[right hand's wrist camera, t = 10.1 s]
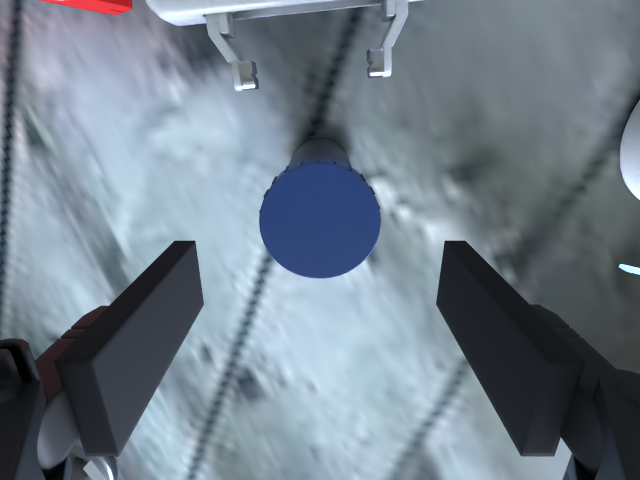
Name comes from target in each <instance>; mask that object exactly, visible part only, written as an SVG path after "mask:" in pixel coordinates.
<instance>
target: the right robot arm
mask: <svg viewBox="0 0 640 480" xmlns="http://www.w3.org/2000/svg"><path fill="white" fill-rule="evenodd" d="M203 305H204V302H203V294H202V287H201V280H200V272H199V265H198V258H197V250H196V243H195V241H174V242H173V243H172V244H171V245H170V246H169V247H168V248H167V249H166V250H165V251H164V252H163V253H162V254H161V255H160V256H159V257H158V258H157V259H156V260H155V261H154V262H153V263H152V264H151V265H150V266H149V267H148V268H147V269H146V270H145V271H144V272H143V273H142V274H141V275H140V276H139V277H138V278H137V279H136V280H135V281H134V282H133V283H132V284H131V285H130V286H129V287H128V288H127V289H126V290H125V291H124V292H123V293H122V294H121V295H120V296H119V297H118V298H117V299H116V300H115V301H114V302H113V303H112V304H111V305H109V306H100V307H98V308H96V309H95V310H93V311H91V312H89V313H87V314H86V315H84V316H83V317H82V318H81V319H79V320H78V321H77V322H76V323H75V324H74V325H73V326H72V327H71V329H69V330H68V331H66V332H65V333H64V334H63V335H62V336H61V339H58V340H57V341H56V342H55V343H54V344H52V345H51V346H50V347H49V348H48V349H47V350H46V351H45V352H44V353H43V354H42V355H41V356H39V357H38V358H37V359H36V360H34V357H33V354H32V352H31V349H30V346H29V343H28V342H26V341H24V340H22V339H4V340H0V480H117V474H118V473H117V467H116V464H115V461H114V459H113V457H112V456H119V455H120V453H121V451H122V450H123V448H124V446H125V444H126V443H127V441H128V439H129V437H130V435H131V434H132V432H133V430H134V428H135V426H136V425H137V423H138V421H139V419H140V418H141V416H142V414H143V412H144V410H145V409H146V407H147V405H148V403H149V401H150V400H151V398H152V396H153V394H154V392H155V391H156V389H157V387H158V385H159V384H160V382H161V380H162V378H163V376H164V375H165V373H166V371H167V369H168V367H169V366H170V364H171V362H172V360H173V359H174V357H175V355H176V353H177V351H178V350H179V348H180V346H181V344H182V342H183V341H184V339H185V337H186V335H187V334H188V332H189V330H190V328H191V326H192V325H193V323H194V321H195V319H196V317H197V316H198V314H199V312H200V310H201V309H202V307H203ZM436 305H437V307H438V309H439V310H440V312H441V314H442V316H443V317H444V319H445V321H446V323H447V325H448V326H449V328H450V330H451V332H452V334H453V335H454V337H455V339H456V341H457V342H458V344H459V346H460V348H461V350H462V351H463V353H464V355H465V357H466V359H467V360H468V362H469V364H470V366H471V367H472V369H473V371H474V373H475V375H476V376H477V378H478V380H479V382H480V384H481V385H482V387H483V389H484V391H485V392H486V394H487V396H488V398H489V400H490V401H491V403H492V405H493V407H494V409H495V410H496V412H497V414H498V416H499V418H500V419H501V421H502V423H503V425H504V426H505V428H506V430H507V432H508V434H509V435H510V437H511V439H512V441H513V443H514V444H515V446H516V448H517V450H518V451H519V453H520V455H521V456H554V455H555V452H556V449H557V446H558V443H559V440H560V437H561V438H562V439H563V441H564V442H565V443H566V445H567V446H568V448H569V449H570V450H571V452H572V455H571V457H570V460H569V463H568V466H567V468H566V471H565V474H564V477H563V480H640V374H637V373H634V372H631V371H625V370H619V369H616V368H615V367H613V366H612V365H611V364H610V363H609V362H608V361H607V360H606V359H605V358H604V357H603V356H601V355H600V354H599V353H598V352H597V351H596V350H595V349H594V348H593V347H592V346H591V345H589V344H588V343H587V342H586V341H585V340H584V339H583V338H580V337H579V334H578V333H576V332H575V331H574V330H573V329H572V328H569V325H568V324H567V323H566V322H564V321H563V320H562V319H561V318H560V317H559V316H558V315H557V314H555V313H553V312H552V311H550V310H548V309H546V308H544V307H543V306H541V305H529V304H528V303H527V302H526V301H525V300H524V299H523V298H522V297H521V296H520V295H519V294H518V293H517V292H516V291H515V290H514V289H513V288H512V287H511V286H510V285H509V284H508V283H507V282H506V281H505V280H504V279H503V278H502V277H501V276H500V275H499V274H498V273H497V272H496V271H495V270H494V269H493V268H492V267H491V266H490V265H489V264H488V263H487V262H486V261H485V260H484V259H483V258H482V257H481V256H480V255H479V254H478V253H477V252H476V251H475V250H474V249H473V248H472V247H471V246H470V245H469V244H468V243H467V242H466V241H445V243H444V250H443V258H442V265H441V272H440V280H439V287H438V294H437V302H436Z"/></svg>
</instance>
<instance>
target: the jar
mask: <svg viewBox="0 0 640 480" xmlns="http://www.w3.org/2000/svg"><path fill="white" fill-rule="evenodd" d="M317 156H319V158H329V159H333V158H335V159H336V160H337V161H340V162H343V163H345V164H347V165H348V164H350V162H349V159H348V157H347V155H346V153H345V151H344V150H343V149H342V148H341V147H340V146H339V145H338V144H337V143H335V142H334V141H332V140H329V139H325V138H315V139H311V140H308V141H306V142H305V143H303V144H302V145H301V146H299V148H298V149H297V150H296V151H295V153H294V155H293V157H292V159H291V161H290V164H289V167H290V166H291V165H293V164H295V163H297V162H300V161H301V159H303V160H306V159H312V158H317ZM350 165H351V164H350ZM351 167H352V166H351Z"/></svg>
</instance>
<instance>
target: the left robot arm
mask: <svg viewBox="0 0 640 480" xmlns="http://www.w3.org/2000/svg"><path fill="white" fill-rule="evenodd" d="M145 1H146V3H147V4H148V6H149V7H150V8H151V9H152V10H153V11H154V12H155V13H156V14H157V15H158V16H159V17H160V18H162V19H163V20H165V21H167V22H169V23H172V24H174V25H177V26H183V25H193V24H202V23H206V24H207V29H208V35H209V37H210V38H211V39H212V41H213V42H214V43H215V45H216V46H217V48H218V49H219V50H220V52H221V53H222V55H223V56H224V57H225V59H226V60H227V61H228V63H230V65H231V71H232V77H233V83H234V87H235V90H236V91H244V90H253V89H259V84H258V79H257V78H256V77H255V76H256V74H257V69H256V63H255V62H253V61H243V60H242V59H241V57H240V56H239V55H238V53H237V52H236V50H235V49H234V47H233V46H232V44H231V43H230V41H229V40H228V38H235V36H236V34H235V27H234V20H240V19H249V18H259V17H268V16H278V15H287V14H297V13H306V12H316V11H325V10H335V9H344V8H354V7H363V6H373V5H381V12H382V21H383V22H389V21H390V24H389V26H388V28H387V31H386V33H385V35H384V37H383V39H382V41H381V44H380V46H379V48H371V49H369V50H368V51H367V63H368V64H369V66H368V68H367V74H368V78H377V77H387V76H391V70H392V62H391V47H392V46H393V45H394V43H395V41H396V39H397V37H398V35H399V33H400V30H401V28H402V26H403V24H404V22H405V20H406V18H407V16H408V2H410V1H420V0H145ZM620 167H621V172H622V175H623V178H624V181H625V183H626V185H627V187H628V188H629V189H630V191H631V192H632V193H633V194H634V195H635V196H636V197H637V198H638V199H639V200H640V100H639V102H638V103H637V105H636V106H635V108H634V110H633V111H632V113H631V115H630V117H629V120H628V122H627V124H626V127H625V130H624V133H623V136H622V141H621V146H620ZM619 267H620V268H622V269H624V270H625V271H627V272H632V273H636V274H640V268H636V267H631V266H627V265H623V264H620V266H619Z"/></svg>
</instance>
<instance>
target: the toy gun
mask: <svg viewBox="0 0 640 480" xmlns="http://www.w3.org/2000/svg"><path fill="white" fill-rule="evenodd" d="M41 1H46V2H51V3H56V4H61V5H66V6H71V7H76V8H81V9H86V10H91V11H95V12H100V13H106V14H116V15H119V14H121V13H123V12H126V11H128V10H130V9H132V0H41Z"/></svg>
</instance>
